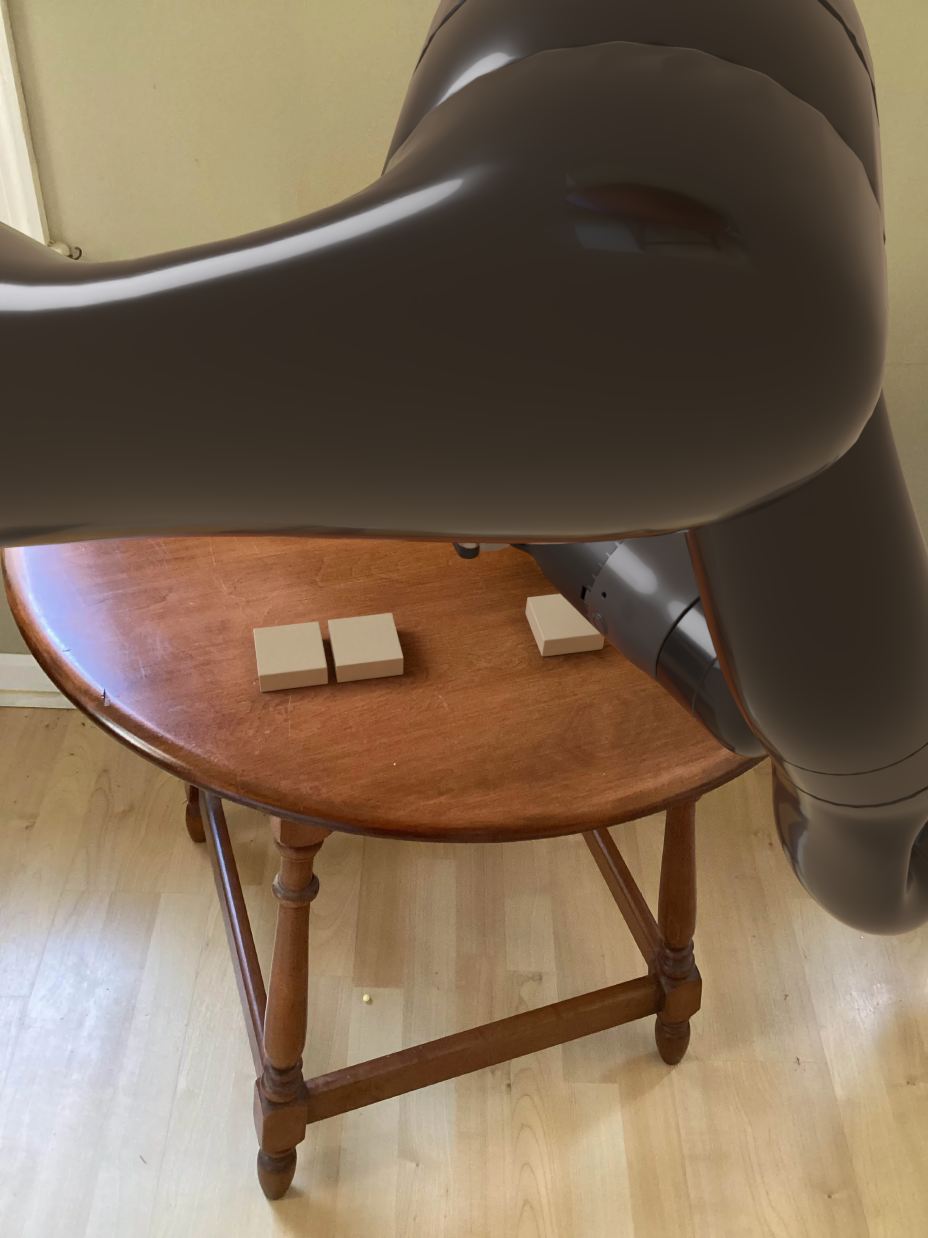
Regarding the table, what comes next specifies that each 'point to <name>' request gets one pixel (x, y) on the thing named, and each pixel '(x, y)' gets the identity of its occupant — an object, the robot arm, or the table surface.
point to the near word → (392, 645)
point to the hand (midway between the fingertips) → (469, 415)
